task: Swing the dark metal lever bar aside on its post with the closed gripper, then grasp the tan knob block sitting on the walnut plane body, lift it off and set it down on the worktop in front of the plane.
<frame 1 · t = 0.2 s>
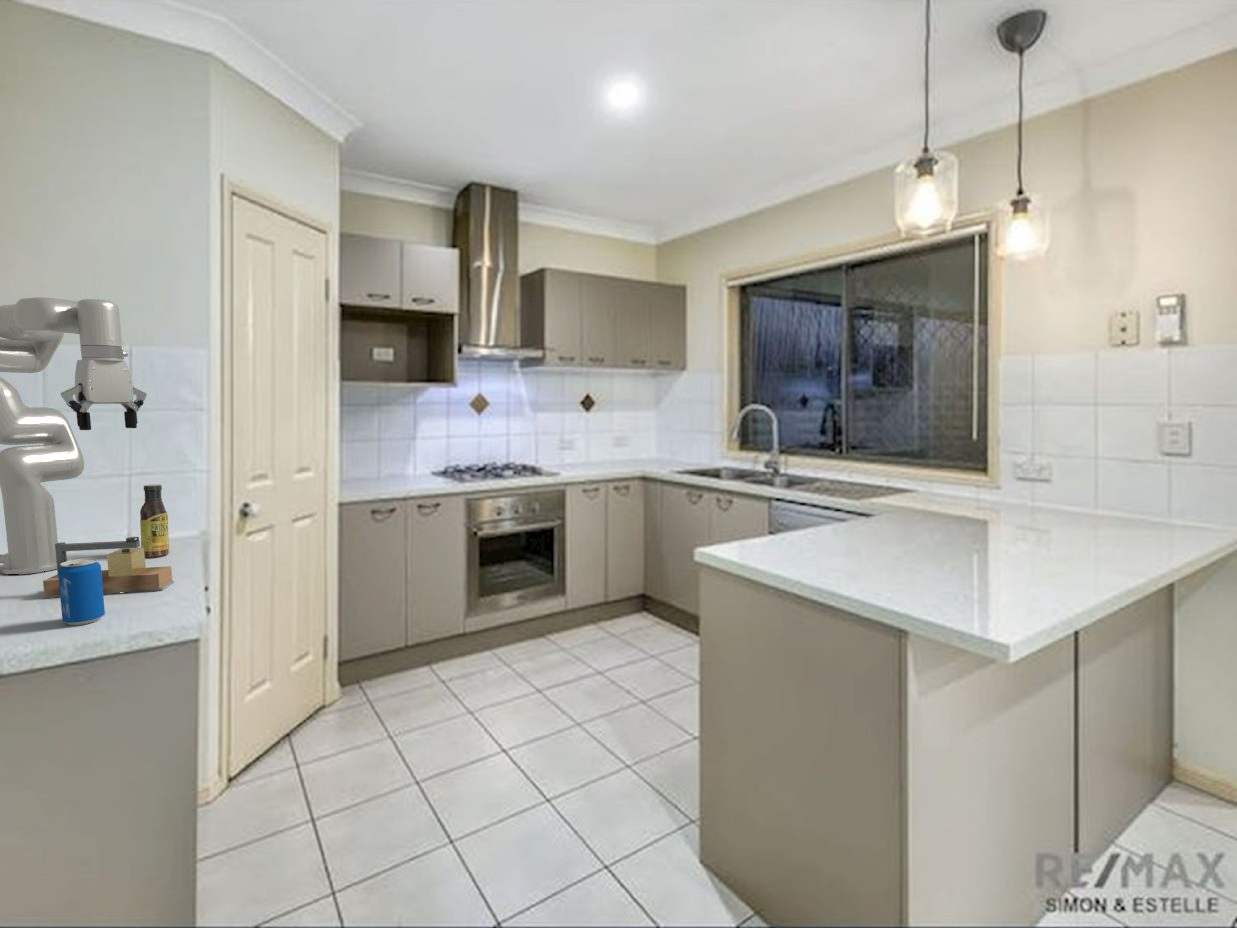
hand: (108, 429, 149), 37 cm above the table, tool pointing down, fingers open, 9 cm apart
sauce bottle: (156, 556, 179), on the table
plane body: (111, 590, 147), on the table
beverage can: (84, 621, 127), on the table
tan knob block: (127, 572, 147), point 4 cm above the table, touching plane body
lever: (98, 555, 146), point 8 cm above the table, hinge at 0.0°
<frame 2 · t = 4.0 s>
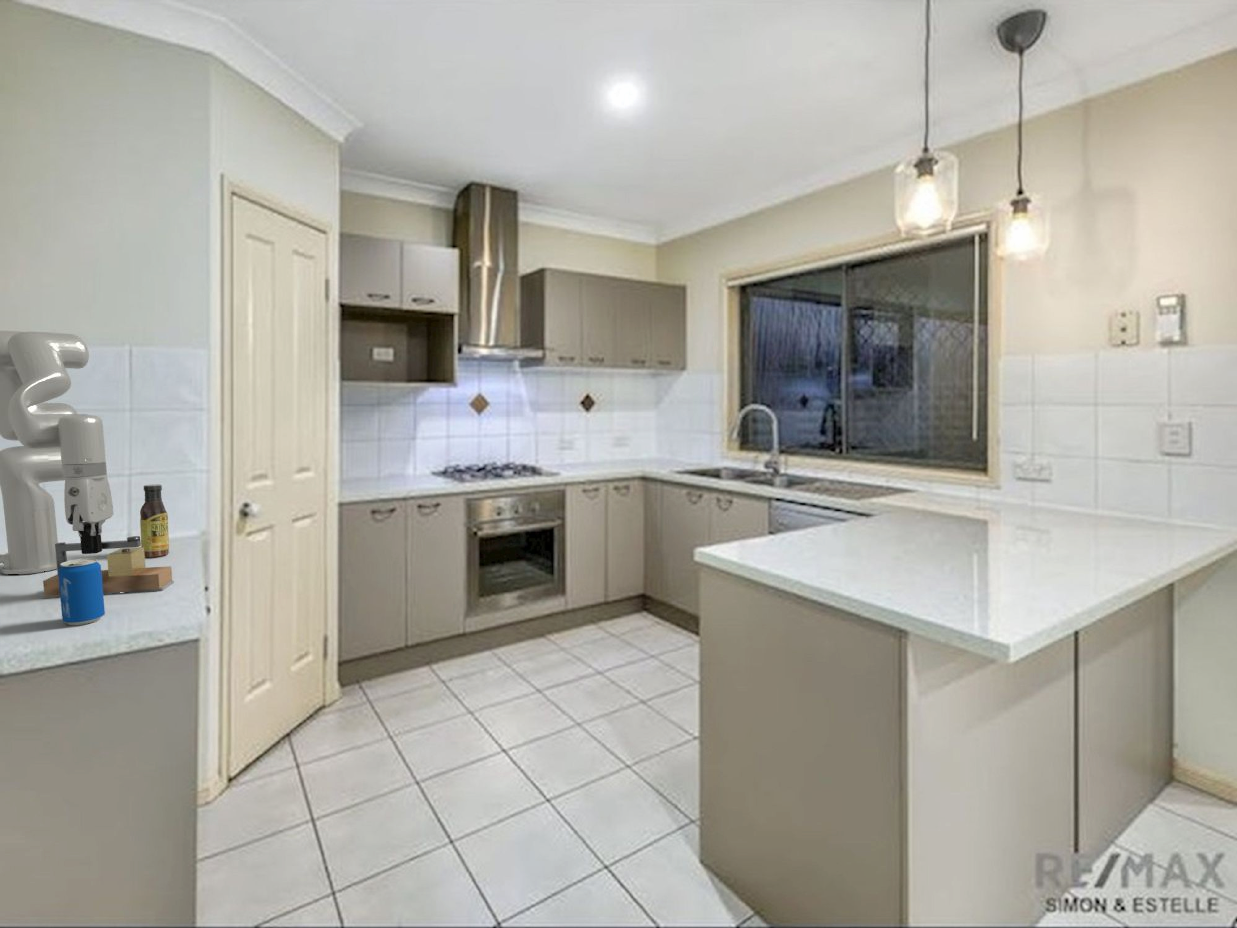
hand: (92, 552, 143), 9 cm above the table, tool pointing down, fingers closed
lever: (99, 555, 146), point 8 cm above the table, hinge at 2.3°, touching gripper
everything else where it was.
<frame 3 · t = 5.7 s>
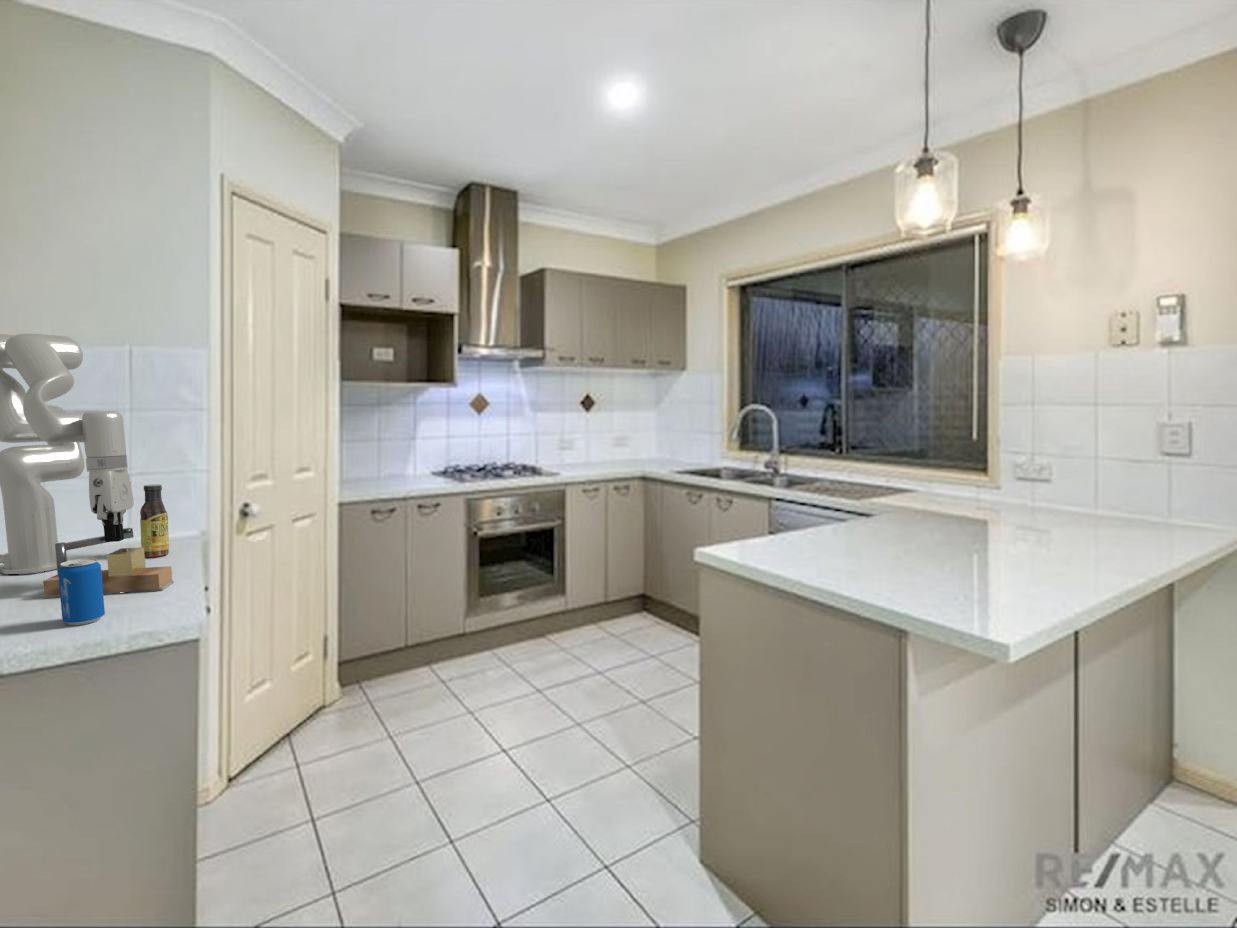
hand: (114, 540, 152), 10 cm above the table, tool pointing down, fingers closed
lever: (96, 550, 150), point 8 cm above the table, hinge at 55.1°, touching gripper
everything else where it was.
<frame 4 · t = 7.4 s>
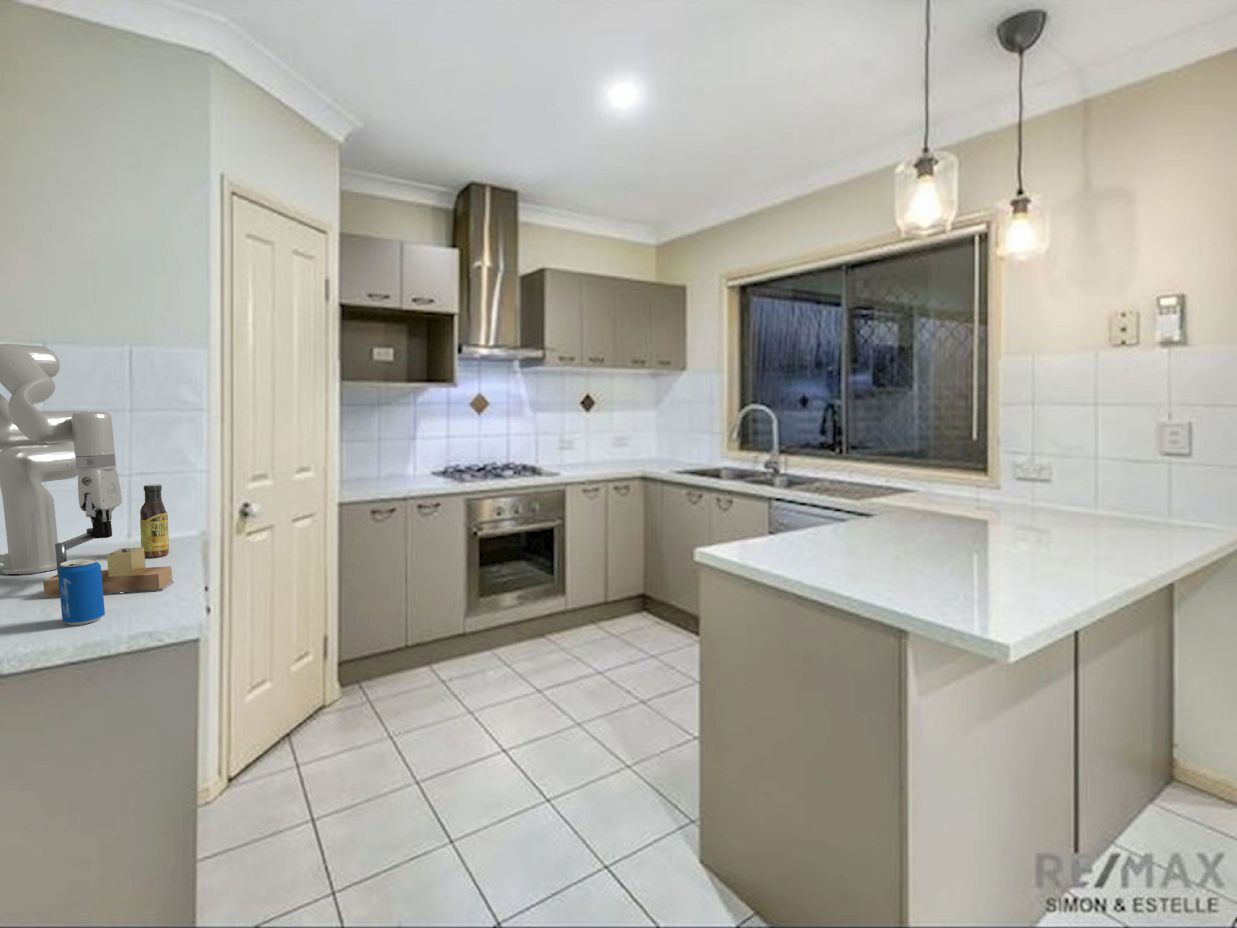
hand: (103, 537, 156), 10 cm above the table, tool pointing down, fingers closed
lever: (78, 550, 151), point 8 cm above the table, hinge at 90.5°, touching gripper
everything else where it was.
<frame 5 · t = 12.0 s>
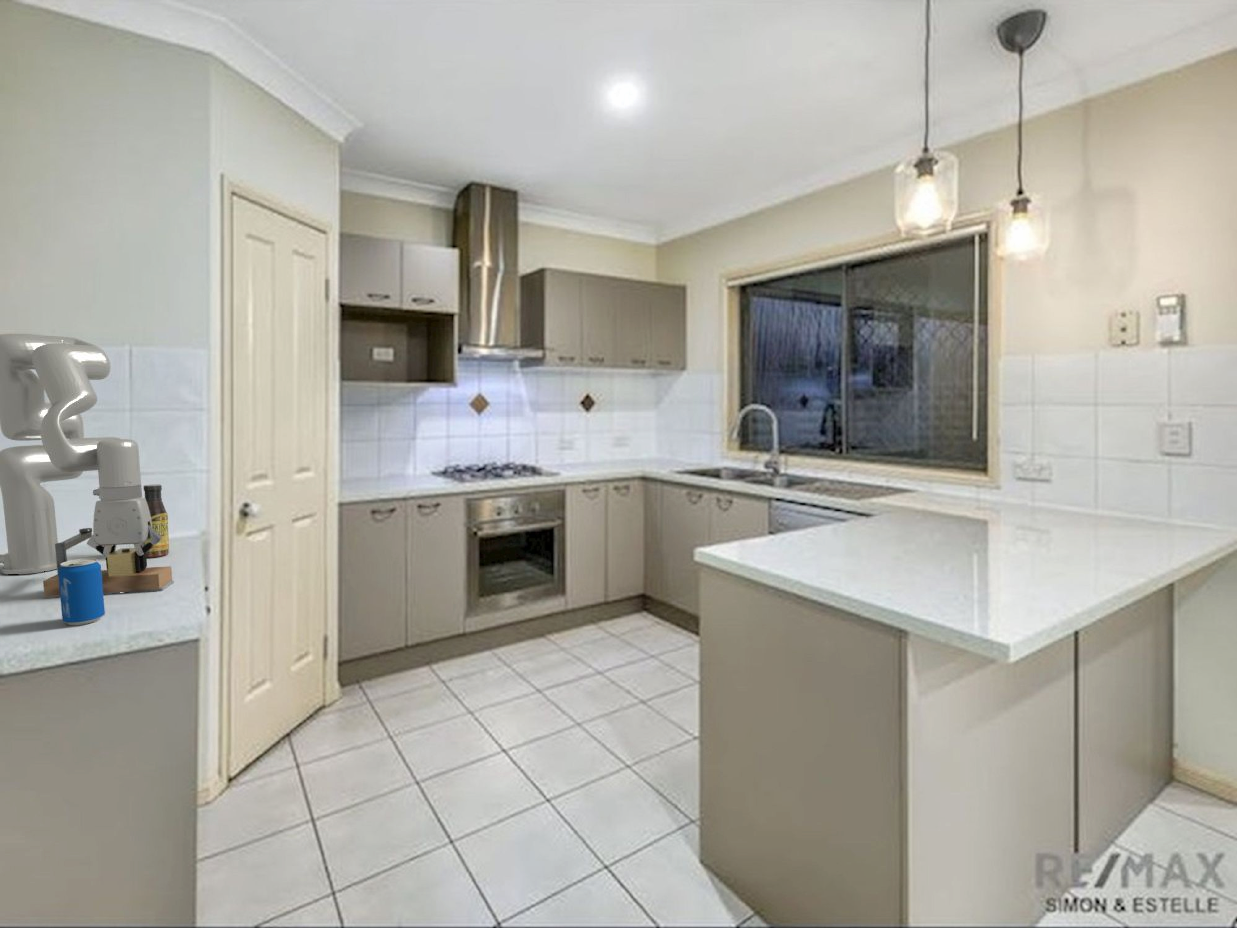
hand: (127, 571, 147), 4 cm above the table, tool pointing down, fingers closed on tan knob block, 4 cm apart
tan knob block: (127, 572, 147), point 4 cm above the table, touching gripper, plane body
lever: (75, 550, 150), point 8 cm above the table, hinge at 96.5°
everything else where it was.
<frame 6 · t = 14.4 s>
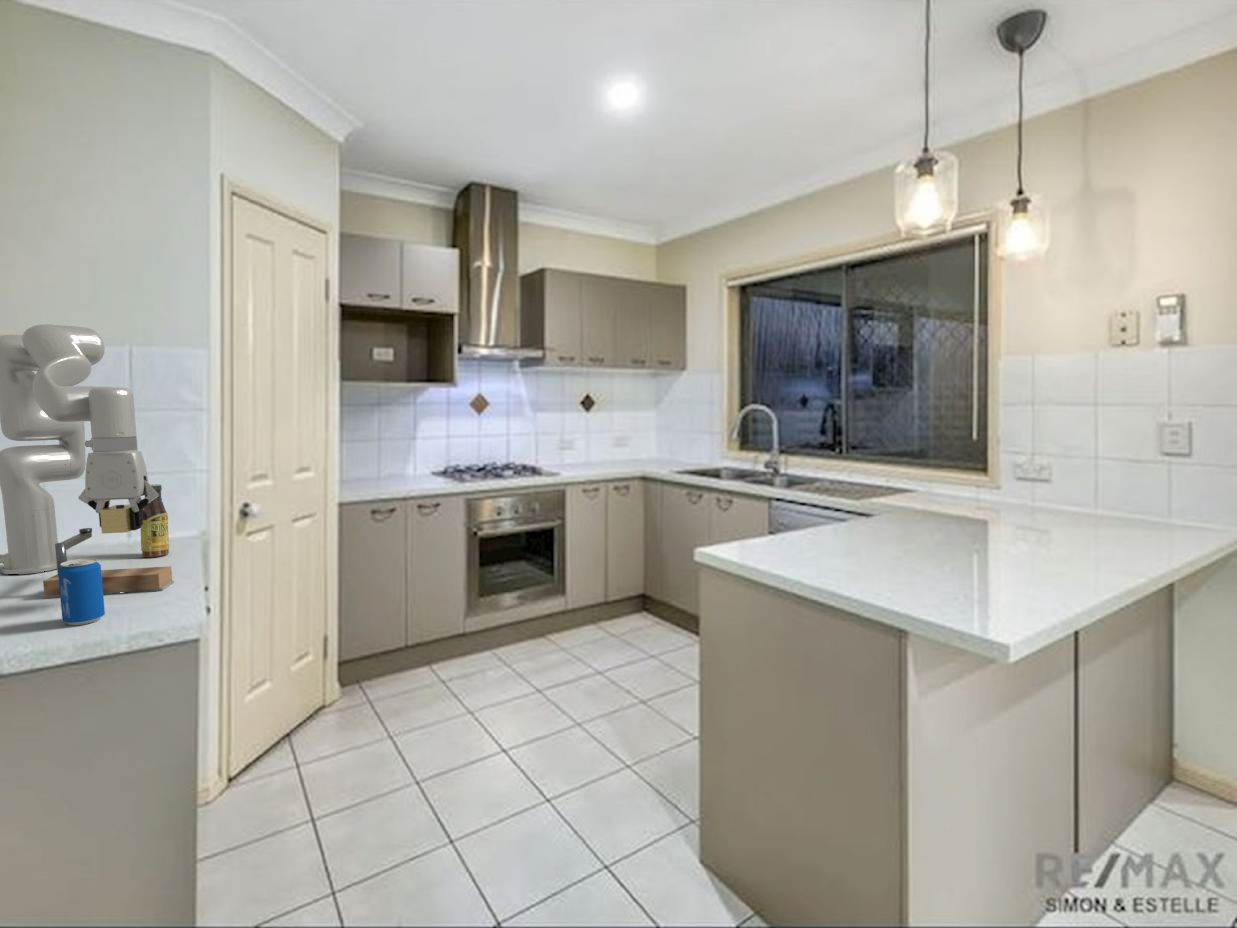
hand: (122, 528, 138), 16 cm above the table, tool pointing down, fingers closed on tan knob block, 4 cm apart
tan knob block: (122, 529, 138), point 16 cm above the table, touching gripper
everything else where it was.
when the fingers open (1 cm above the table, at t = 17.2 s): tan knob block drops 1 cm, on the table.
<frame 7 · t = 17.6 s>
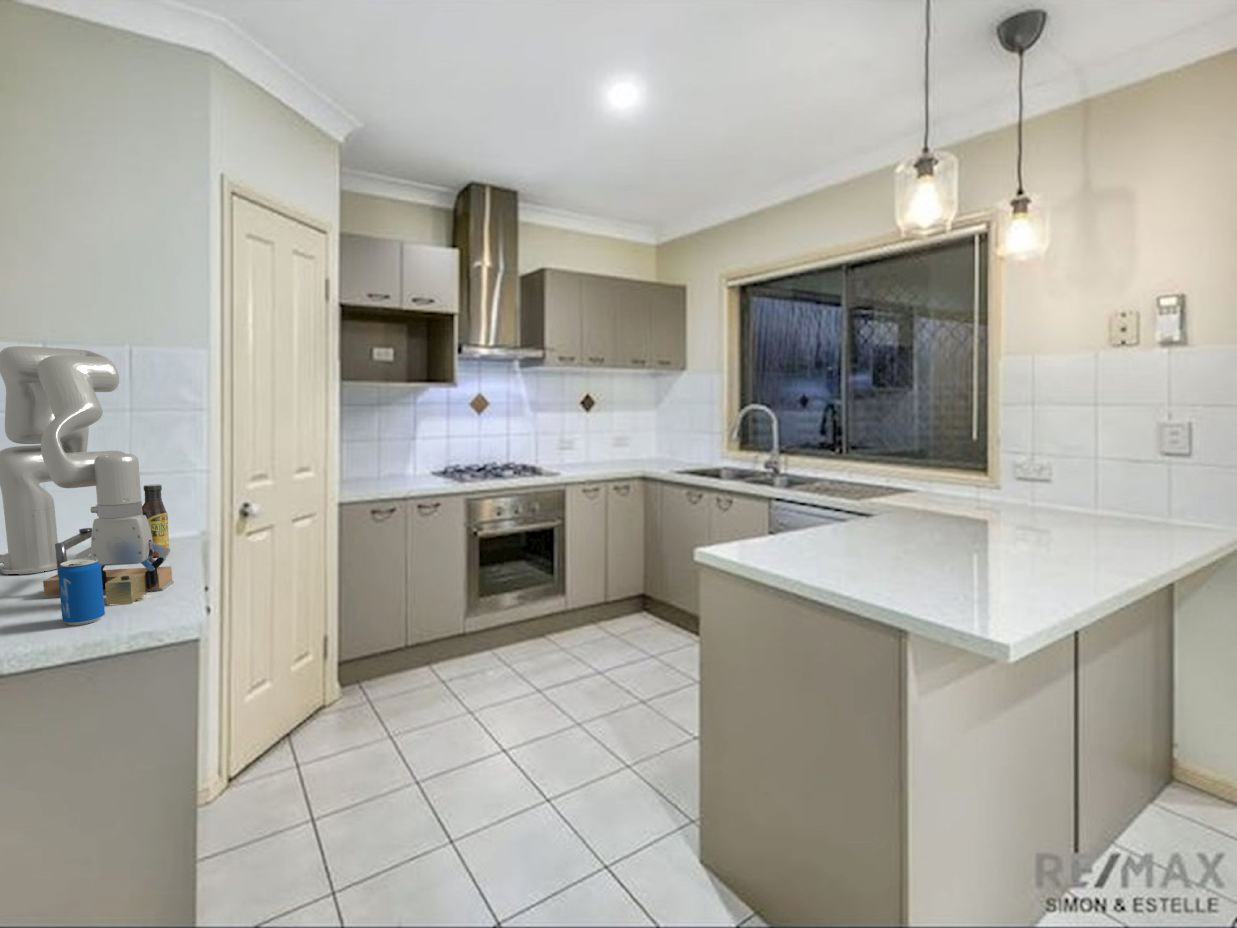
hand: (126, 588, 140), 2 cm above the table, tool pointing down, fingers open, 9 cm apart
tan knob block: (126, 600, 140), on the table
everything else where it was.
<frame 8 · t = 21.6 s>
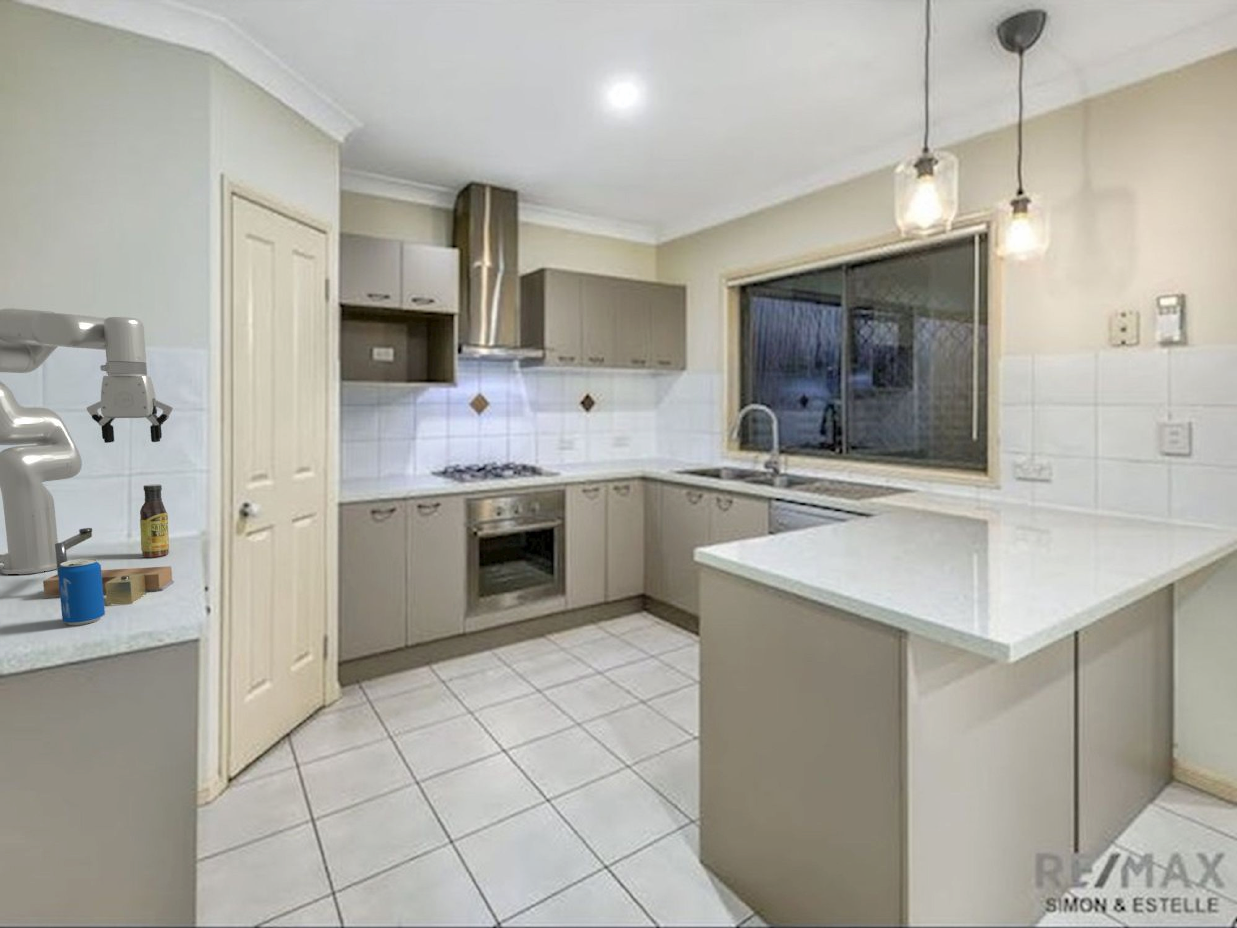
hand: (132, 442, 154), 33 cm above the table, tool pointing down, fingers open, 9 cm apart
nothing on the table moved.
at the end: lever at +96° (first picture: +0°); tan knob block inside the target area (0.2 cm from its centre), on the table; tan knob block tilted 0° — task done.
